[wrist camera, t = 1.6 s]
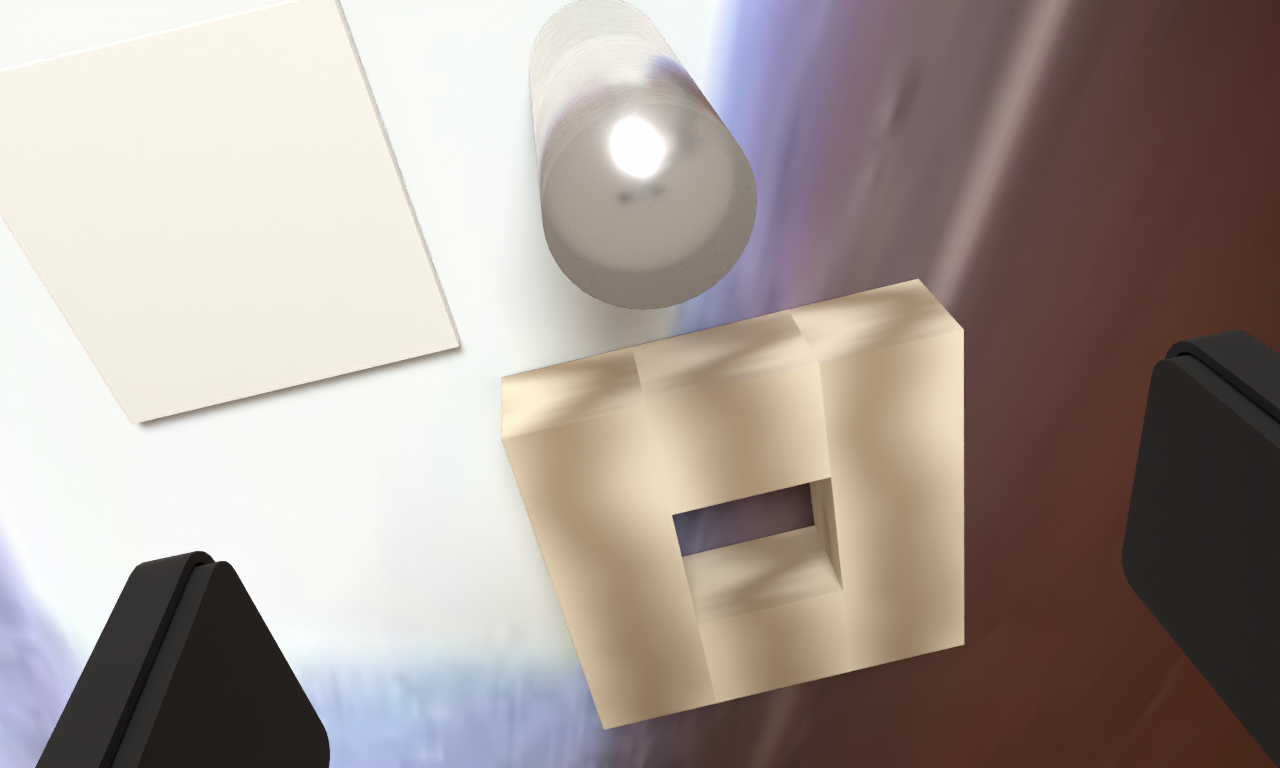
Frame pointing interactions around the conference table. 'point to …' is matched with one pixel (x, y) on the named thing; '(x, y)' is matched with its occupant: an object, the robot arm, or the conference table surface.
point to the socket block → (742, 467)
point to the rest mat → (218, 209)
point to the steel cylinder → (633, 161)
